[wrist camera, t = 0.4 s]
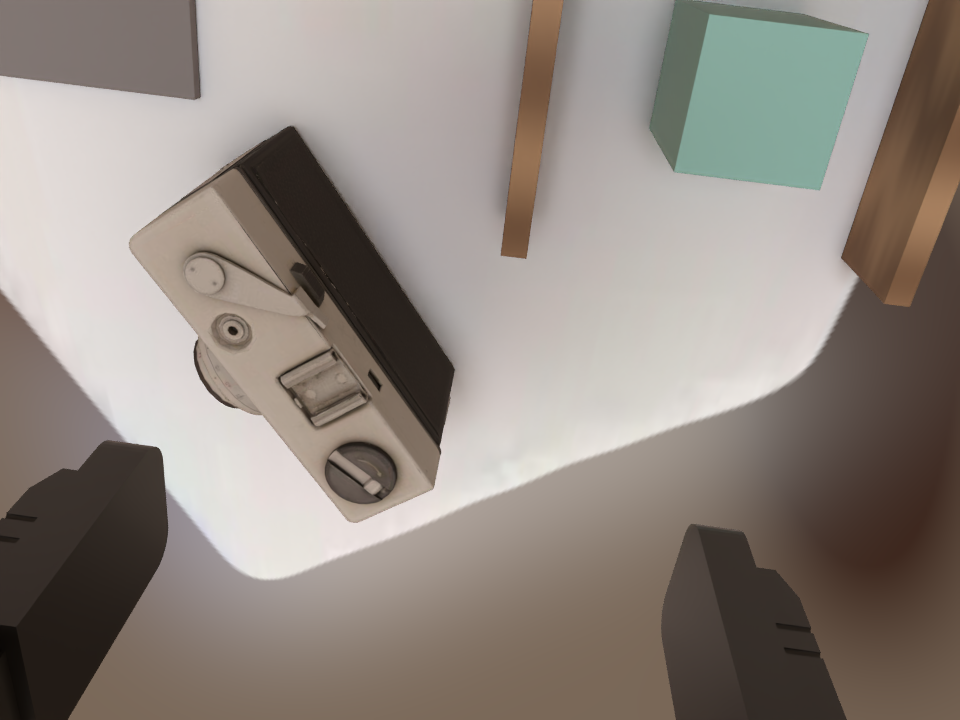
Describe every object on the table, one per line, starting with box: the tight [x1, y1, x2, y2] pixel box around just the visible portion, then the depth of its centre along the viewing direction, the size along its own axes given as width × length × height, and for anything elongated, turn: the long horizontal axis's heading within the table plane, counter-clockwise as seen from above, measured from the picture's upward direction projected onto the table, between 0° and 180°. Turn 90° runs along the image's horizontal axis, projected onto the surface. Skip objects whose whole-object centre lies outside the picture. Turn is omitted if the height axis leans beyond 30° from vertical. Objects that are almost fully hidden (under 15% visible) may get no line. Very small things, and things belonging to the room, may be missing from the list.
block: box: [649, 0, 869, 190], centre depth 29 cm, size 5×5×7 cm
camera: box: [129, 126, 454, 523], centre depth 34 cm, size 14×8×10 cm, turn 30°
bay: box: [501, 0, 960, 307], centre depth 30 cm, size 14×16×5 cm
